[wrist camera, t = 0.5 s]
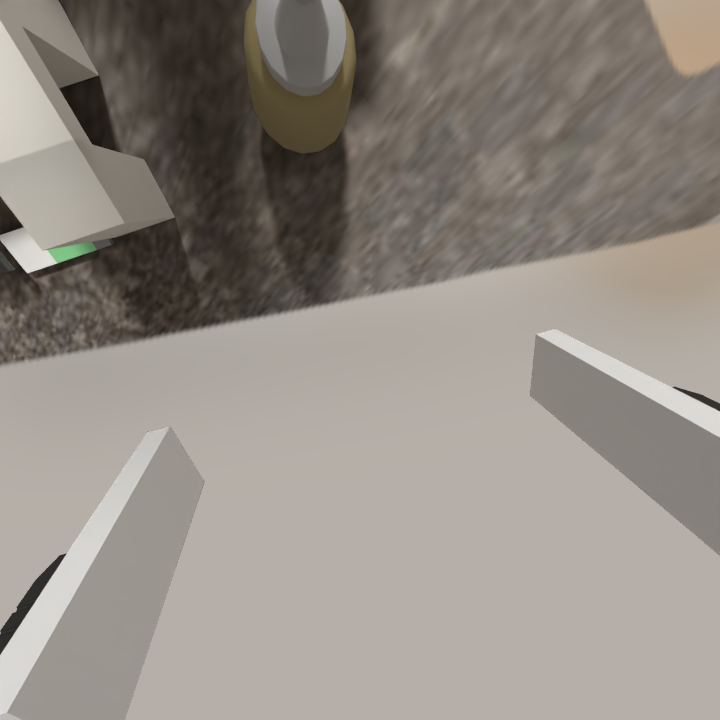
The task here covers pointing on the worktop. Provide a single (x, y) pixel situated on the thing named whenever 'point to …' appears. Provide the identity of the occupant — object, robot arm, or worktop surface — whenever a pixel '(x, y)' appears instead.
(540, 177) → the worktop surface
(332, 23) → the squeeze bottle
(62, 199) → the white and green frame
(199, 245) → the worktop surface
